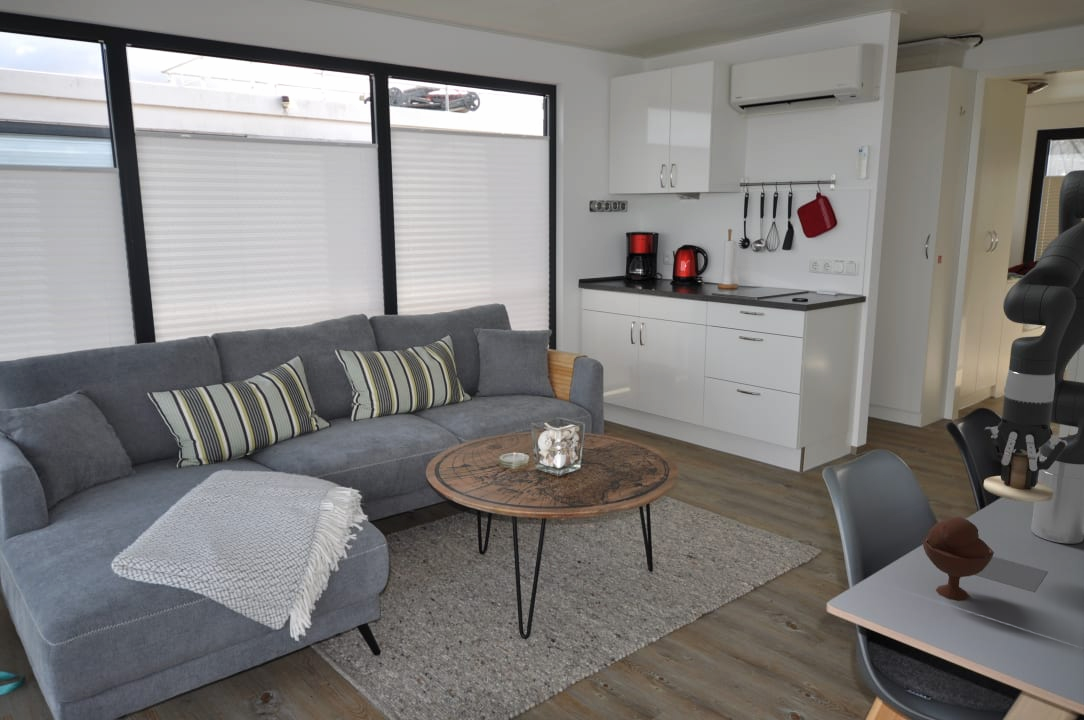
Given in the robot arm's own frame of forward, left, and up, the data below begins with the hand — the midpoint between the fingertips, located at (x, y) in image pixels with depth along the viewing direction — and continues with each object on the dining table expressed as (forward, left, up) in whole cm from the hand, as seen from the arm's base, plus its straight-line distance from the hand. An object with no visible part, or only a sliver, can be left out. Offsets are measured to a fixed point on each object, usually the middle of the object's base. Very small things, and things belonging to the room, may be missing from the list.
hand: (1018, 485), depth 141 cm
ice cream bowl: (+16, -5, -18) cm, 25 cm away
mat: (0, 0, -18) cm, 18 cm away
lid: (0, 0, -1) cm, 1 cm away
